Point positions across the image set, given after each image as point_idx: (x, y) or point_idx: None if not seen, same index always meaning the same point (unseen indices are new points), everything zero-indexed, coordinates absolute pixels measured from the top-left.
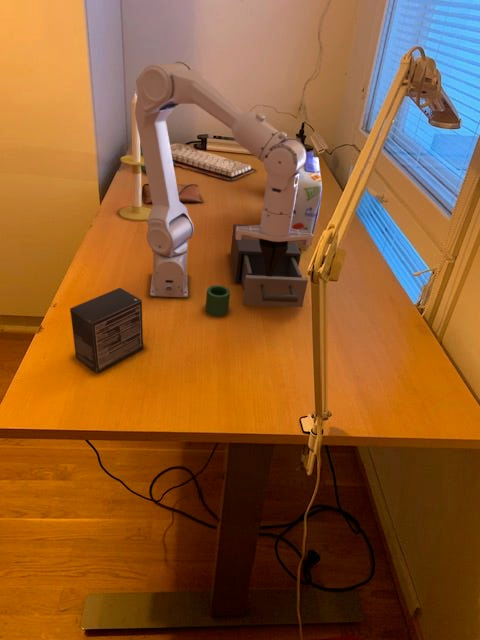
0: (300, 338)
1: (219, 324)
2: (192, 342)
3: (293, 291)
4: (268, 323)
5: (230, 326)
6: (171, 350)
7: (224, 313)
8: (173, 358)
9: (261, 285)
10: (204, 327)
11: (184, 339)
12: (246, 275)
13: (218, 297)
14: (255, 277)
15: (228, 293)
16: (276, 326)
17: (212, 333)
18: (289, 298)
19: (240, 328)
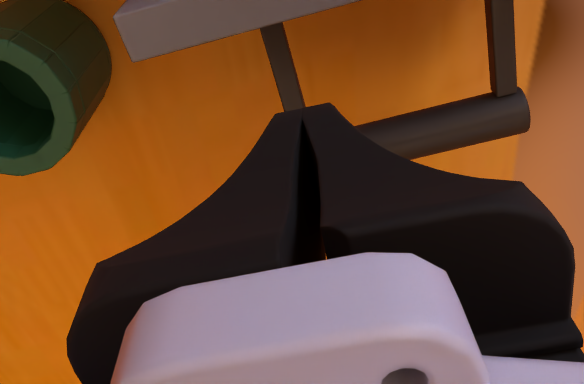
0: (489, 156)
1: (111, 164)
2: (62, 294)
3: (510, 42)
4: (337, 86)
5: (164, 163)
6: (18, 343)
7: (101, 99)
8: (46, 369)
9: (264, 35)
10: (59, 202)
11: (25, 287)
12: (119, 21)
13: (31, 171)
14: (201, 28)
15: (68, 120)
16: (378, 99)
17: (108, 229)
18: (468, 145)
19: (212, 164)
